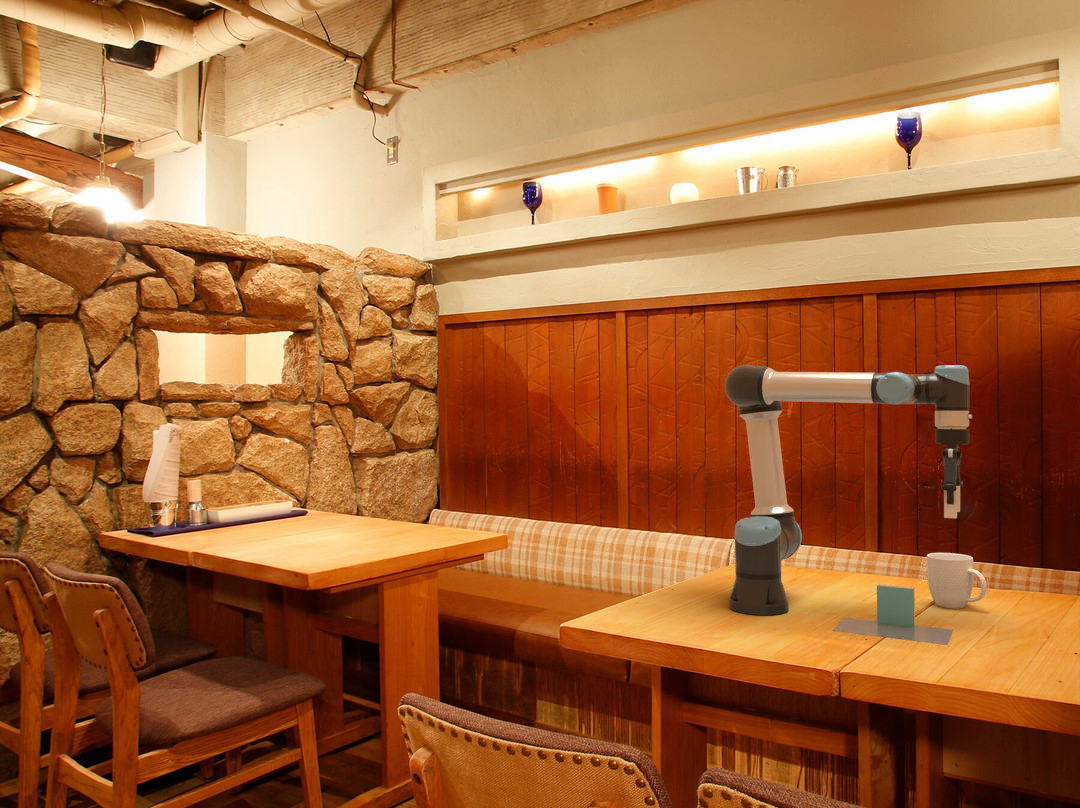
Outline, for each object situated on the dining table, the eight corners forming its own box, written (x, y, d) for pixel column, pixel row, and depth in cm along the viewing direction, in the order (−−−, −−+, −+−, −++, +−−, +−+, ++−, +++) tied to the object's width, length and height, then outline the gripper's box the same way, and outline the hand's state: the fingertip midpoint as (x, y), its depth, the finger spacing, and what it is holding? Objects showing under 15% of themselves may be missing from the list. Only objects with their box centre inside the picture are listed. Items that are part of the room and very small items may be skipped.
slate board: (832, 634, 188) (832, 630, 188) (844, 621, 200) (844, 617, 200) (947, 649, 176) (947, 644, 176) (953, 633, 188) (953, 629, 188)
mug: (997, 609, 210) (996, 558, 210) (974, 616, 204) (973, 563, 204) (942, 599, 222) (941, 551, 222) (918, 604, 216) (917, 555, 216)
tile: (877, 623, 194) (876, 585, 194) (878, 621, 196) (878, 584, 196) (914, 627, 190) (913, 589, 190) (915, 625, 192) (914, 587, 192)
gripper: (966, 429, 188) (967, 521, 188) (971, 427, 209) (971, 509, 209) (930, 429, 191) (931, 519, 191) (939, 426, 213) (939, 508, 213)
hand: (952, 514), depth 200 cm, fingers open, 13 cm apart
